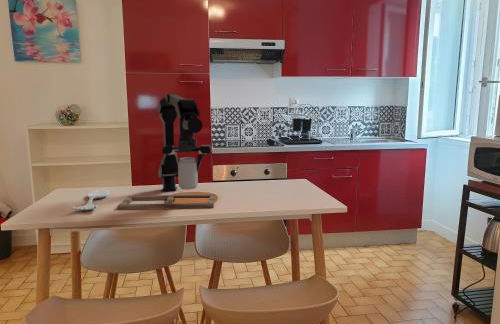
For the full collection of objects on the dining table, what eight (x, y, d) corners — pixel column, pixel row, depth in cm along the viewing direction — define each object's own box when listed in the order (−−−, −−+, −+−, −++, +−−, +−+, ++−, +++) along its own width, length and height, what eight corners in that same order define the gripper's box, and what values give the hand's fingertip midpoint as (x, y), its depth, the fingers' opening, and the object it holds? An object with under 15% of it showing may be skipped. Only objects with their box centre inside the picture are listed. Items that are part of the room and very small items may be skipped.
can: (199, 186, 158) (199, 156, 156) (195, 190, 150) (194, 159, 148) (181, 185, 158) (180, 156, 157) (176, 189, 151) (175, 159, 149)
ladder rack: (129, 199, 162) (128, 195, 162) (215, 197, 164) (215, 194, 163) (117, 209, 147) (117, 205, 146) (213, 207, 148) (213, 204, 148)
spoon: (71, 215, 140) (70, 206, 140) (90, 195, 171) (89, 187, 171) (97, 214, 142) (97, 204, 141) (111, 194, 173) (111, 186, 172)
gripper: (158, 133, 143) (160, 175, 145) (209, 132, 143) (210, 174, 146) (163, 131, 154) (165, 170, 156) (211, 130, 154) (212, 169, 157)
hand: (187, 171), depth 153 cm, fingers closed on can, 7 cm apart
